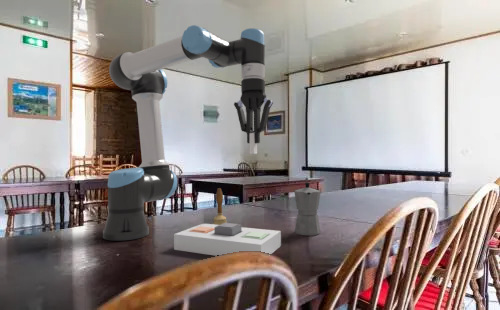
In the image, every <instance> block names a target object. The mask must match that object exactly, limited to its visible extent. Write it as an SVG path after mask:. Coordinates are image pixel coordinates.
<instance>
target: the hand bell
mask: <svg viewBox="0 0 500 310" xmlns="http://www.w3.org/2000/svg"><path fill="white" fill-rule="evenodd" d="M215 200H216V205H217V215H216V216H214V217H213V222H212V224H214V225H221V224H223V223H228V221H227V217H226V216H224V215H223V208H222V207H223V201H224V195H223V191H222V188H220V187H219V188H217V190H216V194H215Z"/></svg>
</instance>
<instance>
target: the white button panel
mask: <svg viewBox="0 0 500 310" xmlns="http://www.w3.org/2000/svg"><path fill="white" fill-rule="evenodd" d="M200 226H202V227H212V228H215V227H216V226H218V225H214V224H213V223H211V224H210V223H201V224H198V225H195V226H192V227H189V228H187V229H184V230H182V231H178V232H176V233H174V234H173V250H175V251H181V252H189V253H195V254H201V255H209V256H210V255H211V256H214V257H215V256H216V257H218V256H217V255H222V254H227V253H233V252H239V251H261V252H265V253H269V254H273V253H274V252H275V251H277V250H278V249H279V248H280V247H281V246H282V231H281V230H273V229H264V228H253V227H246V226H245V227H243V226H241V233H239V234H237V235H235V236H225V235H216V234H215V230H213V231H211V232H208V233H199V232H190V230H192V229H195V228H198V227H200ZM249 232H260V233H266V234H269V235H268V236H267V237H265V238H264V239H262V240H260V239H252V238H243V237H242V236H244V235H246V234H248V233H249Z"/></svg>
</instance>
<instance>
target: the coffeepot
mask: <svg viewBox="0 0 500 310" xmlns="http://www.w3.org/2000/svg"><path fill="white" fill-rule="evenodd" d="M304 185H305V187H302V188H299V189H296V190H294V192H293V193H294V198H295V206H296V209H297V215H296V219H295V227H294V232H295V234H297V235H301V236H317V235H319V234H321V232H322V231H321V225H320V221H319V215H318V210H319V205H320V198H321V192H322V191H321V190H318V189H314V188H312V187H310V182H305V183H304Z"/></svg>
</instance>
